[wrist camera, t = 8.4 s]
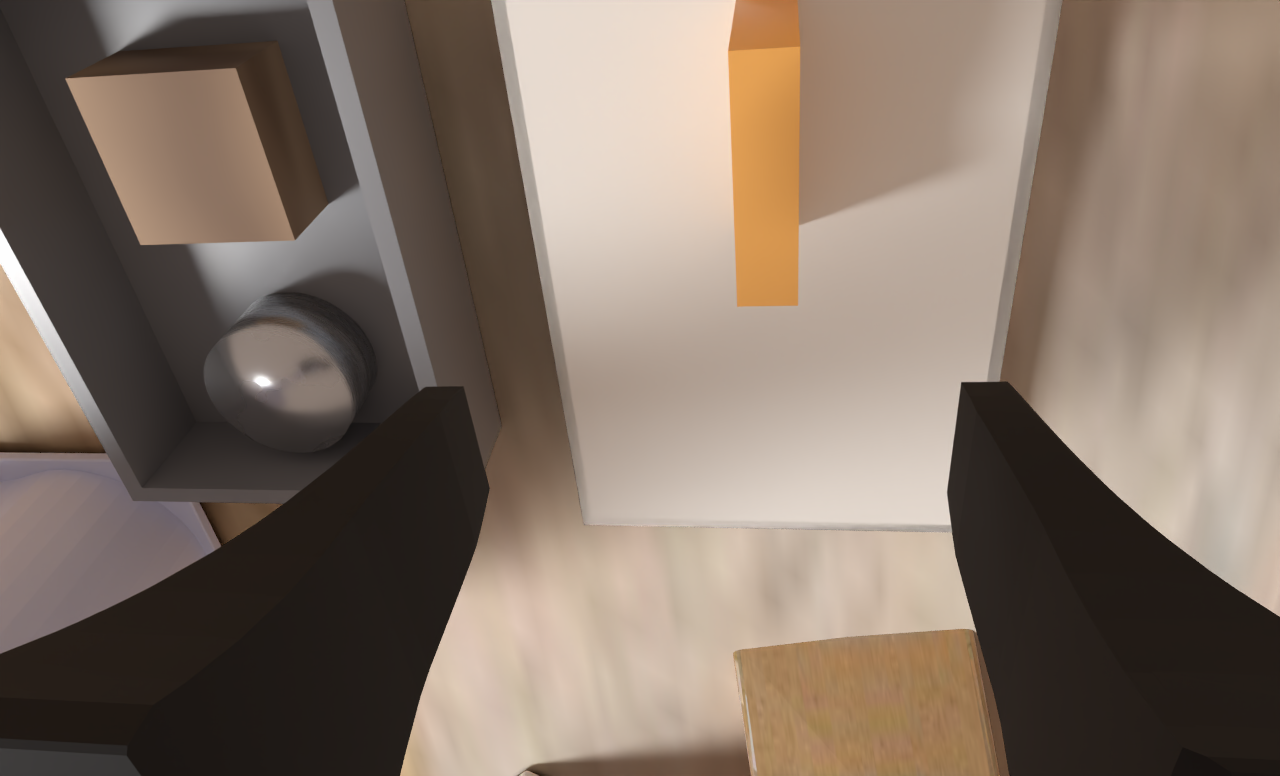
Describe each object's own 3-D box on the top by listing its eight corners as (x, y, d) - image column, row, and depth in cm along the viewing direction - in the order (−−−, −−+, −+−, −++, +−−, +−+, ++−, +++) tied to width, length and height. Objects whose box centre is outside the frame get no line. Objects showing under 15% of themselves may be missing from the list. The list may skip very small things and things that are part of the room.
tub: (195, 424, 29) (133, 500, 26) (-35, -60, 21) (-162, -25, 18) (501, 425, 27) (469, 506, 25) (381, -97, 19) (314, -65, 17)
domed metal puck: (261, 406, 27) (229, 449, 26) (220, 289, 25) (182, 328, 24) (390, 411, 27) (366, 455, 25) (360, 293, 25) (332, 334, 23)
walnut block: (183, 209, 24) (140, 244, 22) (118, 51, 21) (64, 78, 20) (328, 204, 23) (294, 240, 22) (277, 40, 21) (235, 68, 19)
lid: (591, 493, 29) (561, 617, 25) (487, -137, 19) (409, -97, 15) (966, 498, 27) (998, 632, 23) (1072, -192, 17) (1160, -163, 13)
